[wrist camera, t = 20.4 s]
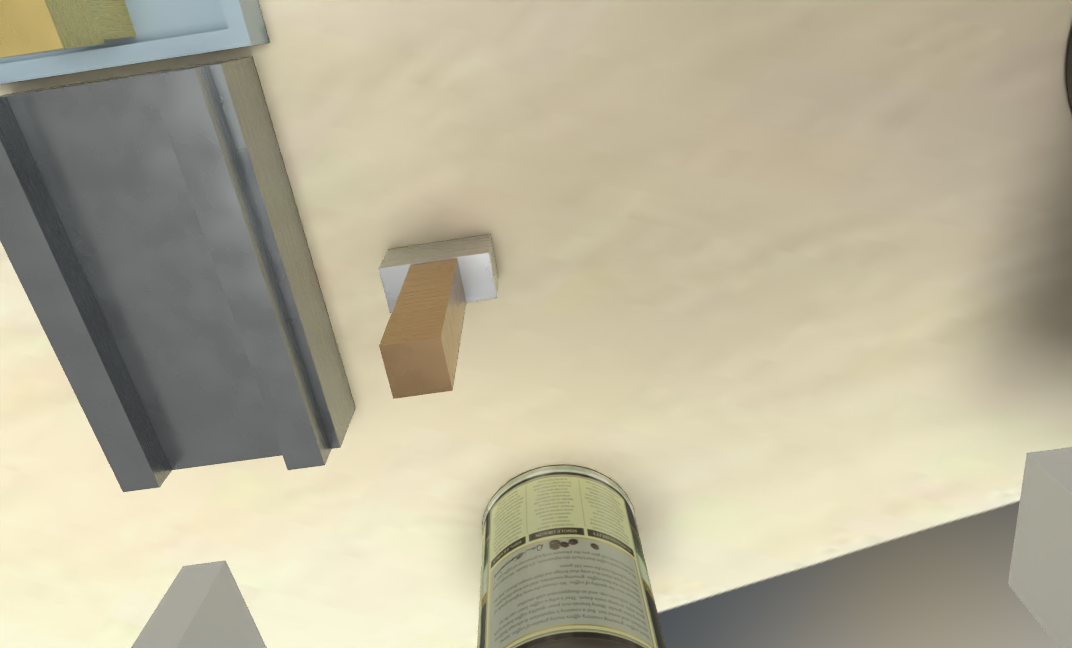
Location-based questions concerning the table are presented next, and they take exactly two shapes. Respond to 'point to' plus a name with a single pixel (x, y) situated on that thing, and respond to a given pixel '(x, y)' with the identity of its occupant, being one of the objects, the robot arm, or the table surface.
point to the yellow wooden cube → (112, 19)
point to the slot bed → (172, 269)
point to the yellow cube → (46, 26)
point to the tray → (153, 38)
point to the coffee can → (564, 566)
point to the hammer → (431, 309)
